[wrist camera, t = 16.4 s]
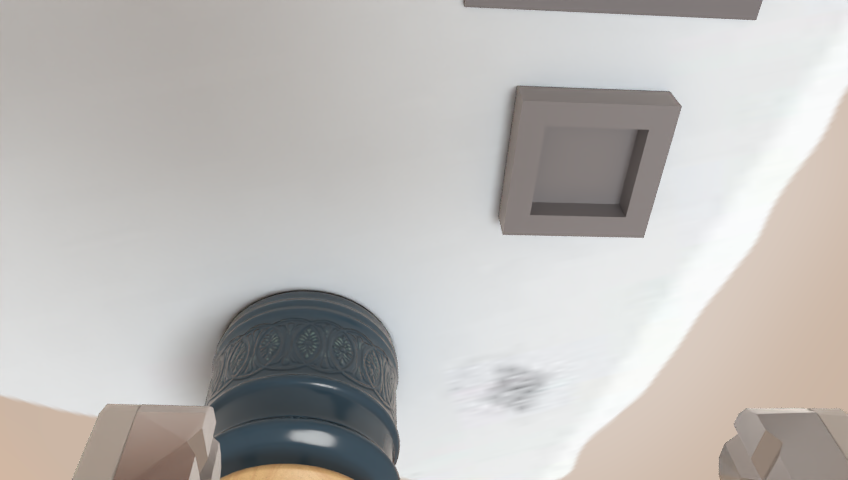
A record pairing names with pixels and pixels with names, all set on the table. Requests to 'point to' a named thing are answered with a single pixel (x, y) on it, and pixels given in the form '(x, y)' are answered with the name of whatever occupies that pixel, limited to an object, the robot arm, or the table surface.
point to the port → (636, 7)
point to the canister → (305, 392)
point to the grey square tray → (585, 161)
